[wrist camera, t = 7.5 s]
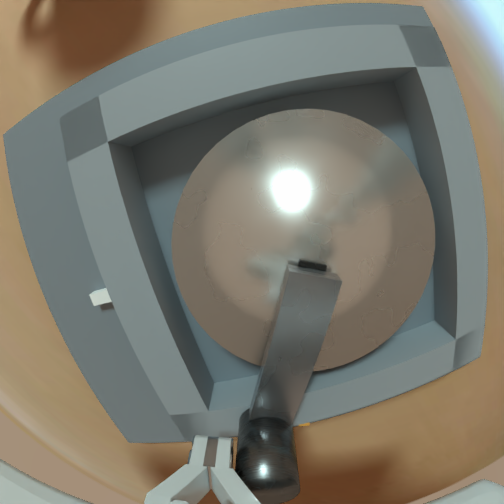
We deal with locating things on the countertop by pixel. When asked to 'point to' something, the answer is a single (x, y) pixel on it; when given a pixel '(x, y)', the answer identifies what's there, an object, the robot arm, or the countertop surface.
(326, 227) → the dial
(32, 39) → the countertop surface
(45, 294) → the panel
